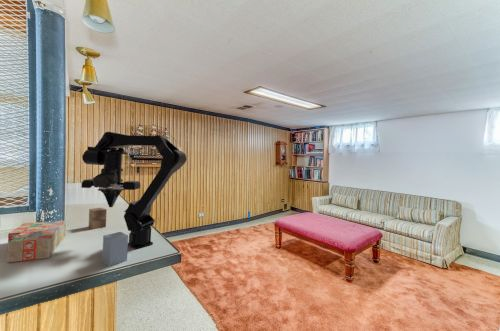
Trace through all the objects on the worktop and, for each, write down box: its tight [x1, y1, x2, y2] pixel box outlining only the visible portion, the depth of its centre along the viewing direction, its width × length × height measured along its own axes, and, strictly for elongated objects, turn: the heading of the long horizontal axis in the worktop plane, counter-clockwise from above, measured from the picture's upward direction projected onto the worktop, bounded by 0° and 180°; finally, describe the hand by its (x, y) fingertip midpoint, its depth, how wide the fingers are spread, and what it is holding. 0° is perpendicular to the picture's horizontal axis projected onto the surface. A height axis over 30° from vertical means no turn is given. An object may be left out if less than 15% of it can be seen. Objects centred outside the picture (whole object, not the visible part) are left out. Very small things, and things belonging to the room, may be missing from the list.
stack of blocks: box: [7, 220, 67, 263], centre depth 76 cm, size 21×6×12 cm
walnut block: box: [88, 207, 107, 230], centre depth 101 cm, size 5×5×8 cm
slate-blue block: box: [101, 231, 129, 267], centre depth 70 cm, size 5×5×8 cm
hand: (111, 207), depth 85 cm, fingers closed
